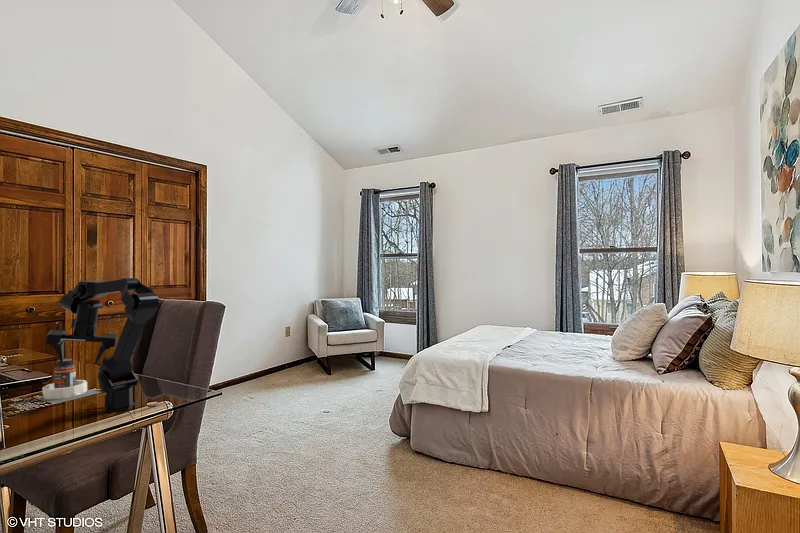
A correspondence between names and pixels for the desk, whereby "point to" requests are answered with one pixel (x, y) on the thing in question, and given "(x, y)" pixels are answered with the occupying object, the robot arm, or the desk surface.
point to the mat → (89, 392)
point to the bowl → (64, 391)
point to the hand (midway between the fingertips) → (79, 363)
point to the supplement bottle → (65, 374)
